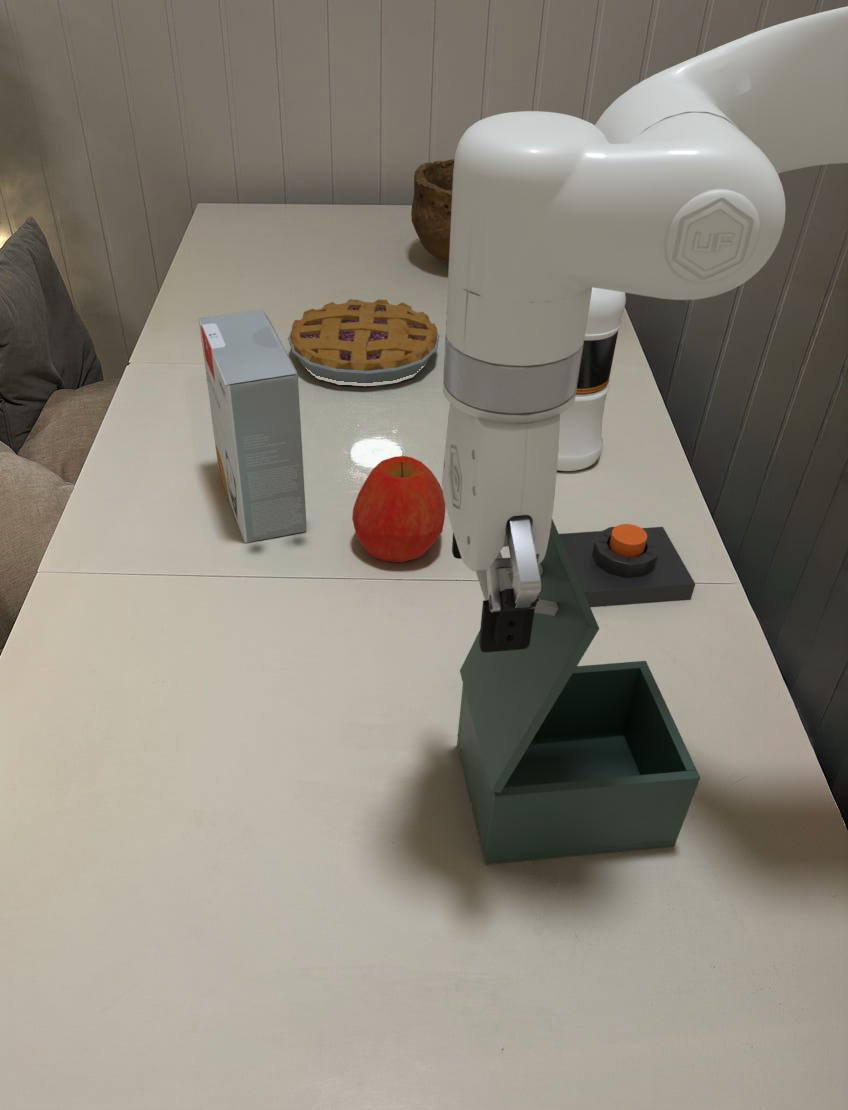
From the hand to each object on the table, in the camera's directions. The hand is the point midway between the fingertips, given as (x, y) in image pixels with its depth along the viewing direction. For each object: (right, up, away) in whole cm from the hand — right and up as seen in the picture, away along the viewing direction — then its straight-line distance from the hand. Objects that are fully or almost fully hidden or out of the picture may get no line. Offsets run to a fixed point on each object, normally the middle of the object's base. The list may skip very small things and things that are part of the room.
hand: (488, 598), depth 65 cm
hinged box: (+8, -16, +16) cm, 24 cm away
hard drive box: (-21, +13, +48) cm, 54 cm away
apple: (-5, +8, +41) cm, 42 cm away
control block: (+19, +4, +37) cm, 42 cm away
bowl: (+8, +62, +100) cm, 118 cm away
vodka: (+16, +20, +55) cm, 61 cm away
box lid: (+3, -4, +4) cm, 6 cm away
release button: (+19, +7, +35) cm, 40 cm away
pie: (-9, +38, +74) cm, 84 cm away
